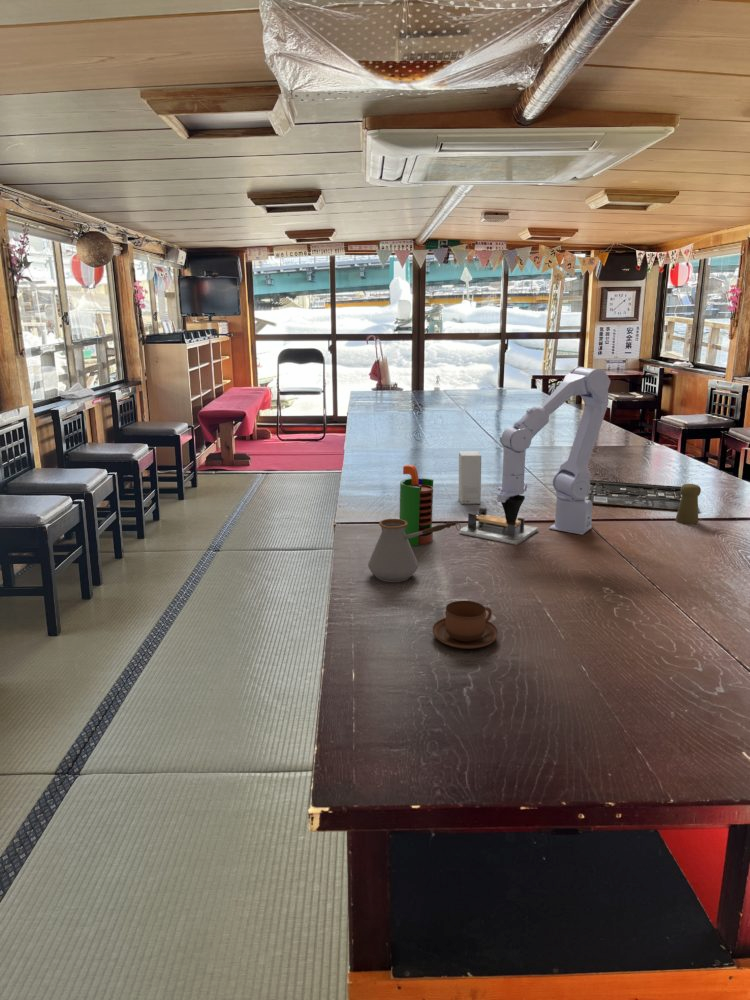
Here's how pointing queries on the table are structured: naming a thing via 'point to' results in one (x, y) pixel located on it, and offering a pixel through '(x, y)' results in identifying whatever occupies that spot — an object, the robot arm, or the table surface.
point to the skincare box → (470, 477)
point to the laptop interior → (635, 495)
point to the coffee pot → (397, 551)
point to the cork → (688, 504)
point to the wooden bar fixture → (497, 530)
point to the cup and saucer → (465, 626)
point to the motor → (416, 505)
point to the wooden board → (495, 520)
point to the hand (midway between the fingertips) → (510, 522)
